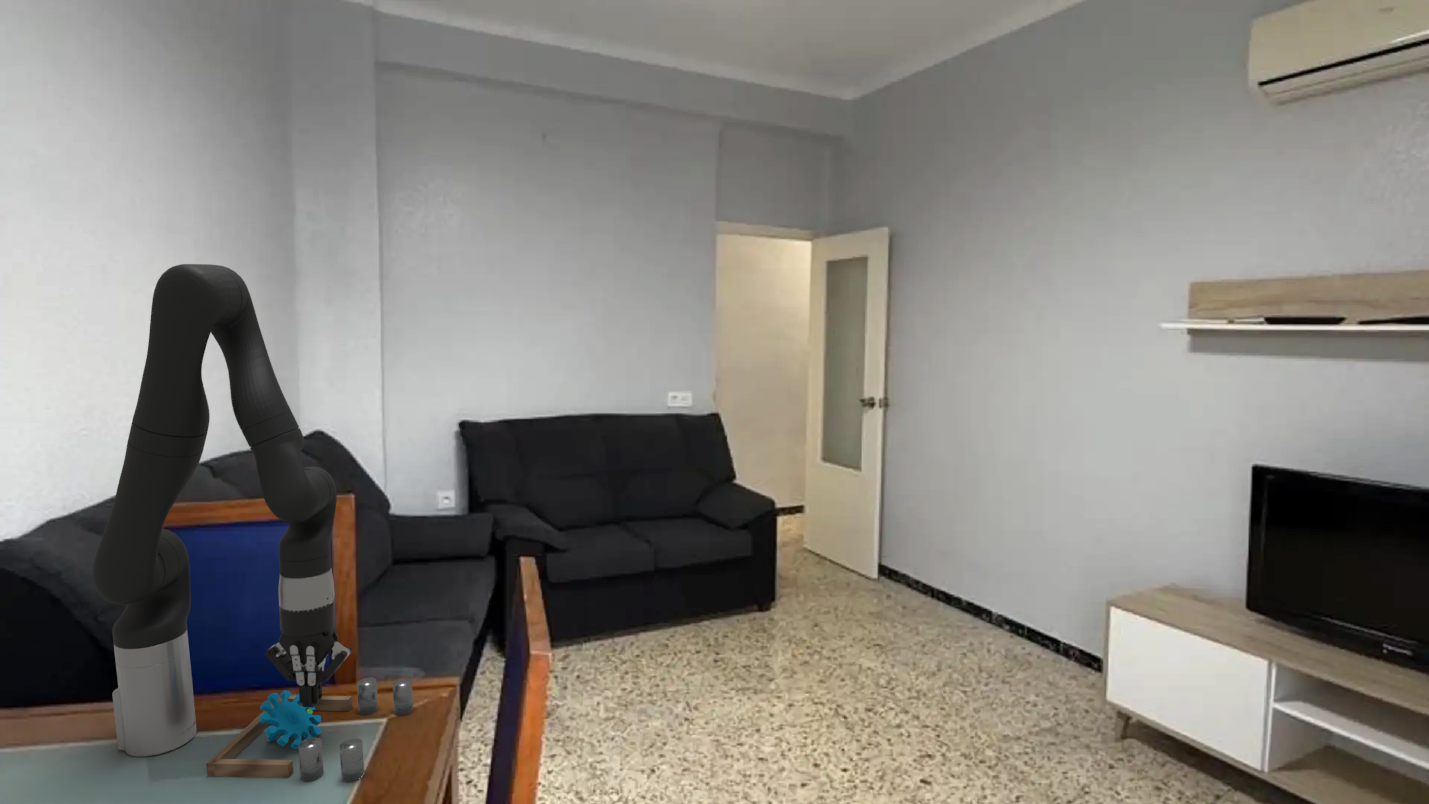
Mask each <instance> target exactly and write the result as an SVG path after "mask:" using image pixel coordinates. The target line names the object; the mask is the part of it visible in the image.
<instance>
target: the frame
mask: <svg viewBox="0 0 1429 804" xmlns="http://www.w3.org/2000/svg"><path fill="white" fill-rule="evenodd" d="M297 695H298V694H297ZM297 695H296V694H291V696H290V697H289V698H288V701H289V702H293V701H294V698H295V697H296V696H297ZM278 702H279V703H282V699H281V697H280V696H279V698H278ZM298 705H300V706H303V703H300V704H298ZM271 706H272V708H273V709H274V707H273V705H272V703H271ZM353 707H354V706H353V696H350V695H322V698H321V700H320V701H319V702H318V703H317V704H316V705H315V710H314V711H320V712H321V711H326V712H327V711H329V712H335V711H336V712H350V711H352V709H353ZM263 713H267V712H266V711H263V710H262V712H261V713H260V714H258V716H257V717H255V719H253V720H252V721H251V722H250V723H249V724H247V726H246V727H245V728H243V729H242V730H241V731H240V732H238V734H237V735H235V737H234V738H232V739H231V740H230V741H229V742H228V743H227V744H226V745H225V746H223V747H222V748H221V750H218V752H217V753H216V754H215V755H213V757H212V758H210V759H209V760H208V761H207V762H205V766H206V767H205V768H206V776H207V777H226V778H227V777H228V778H229V777H233V778H238V777H239V778H240V777H241V778H276V779H277V778H278V779H279V778H280V779H281V778H282V779H284V778H285V779H289V778H291V777H292V775H293V774H294V773H295V771H294V760H293V759H255V758H253V759H250V758H236V757H238V756H239V754H241V753H242V752H243V751H244V750H245V749H246V748H247V747H248V746H249V745H250V744H251V743H252V742H253V741H254V740H255V739H257V738H258V737H259V736H260V735H261V734H262V733H263V732H264V731H265V730H266V729H267V728H268V727H269V726H271V724H269V723H260V716H261V715H262V714H263ZM268 714H269V713H268ZM269 715H270V714H269ZM270 716H271V715H270Z"/></svg>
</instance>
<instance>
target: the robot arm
mask: <svg viewBox="0 0 1429 804" xmlns="http://www.w3.org/2000/svg"><path fill="white" fill-rule="evenodd" d="M152 295H153V296H152V303H151V310H150V311H151V312H150V320H149V321H150V324H149V333H148V334H149V335H148V336H149V337H148V343H147V344H148V345H147V351H146V352H147V353H146V359H145V363H144V368H143V371H142V377H141V382H140V387H139V393H138V397H137V403H136V407H135V409H134V413H133V417H132V420H131V421H132V422H131V426H130V430H129V434H128V439H127V443H126V448H125V455H124V461H123V465H122V468H121V473H120V475H119V480H118V484H117V489H116V492H115V498H114V501H113V506H112V508H111V513H110V515H109V517H108V521H107V523H106V526H105V529H104V532H103V534H102V536H101V540H100V542H99V544H98V548H97V551H96V553H95V557H94V559H93V564H92V573H91V574H92V582H93V585H94V588H95V589H96V591H97V592H98V594H99V596H101V597H102V599H104V600H105V601H106V602H108V603H111V604H114V605H120V606H121V605H122V606H123V605H126V607H125V609H124V610H123V612H122V613H121V614H120V616H119V617H118V619H116V621H115V622H114V624H113V626H112V641H113V649H114V650H113V651H114V659H115V669H116V677H117V686H118V687H117V688H115V689H114V690H113V692H112V696H111V697H112V704H113V714H114V721H115V729H116V730H115V731H116V740H117V741H116V742H117V749H118V751H124V752H126V754H127V755H129V756H133V757H151V756H156V755H160V754H164V753H168V752H170V751H173V750H176V749H177V748H179V747H181V746H184V745H185V744H186V743H189V741H191V740H192V739H193V738H194V737H195V736H196V734H197V731H198V730H197V721H196V712H195V711H196V710H195V697H194V688H193V687H194V685H193V676H192V665H191V657H190V655H191V654H190V646H189V634H188V625H187V624H188V623H187V622H188V617H189V614H190V611H191V606H192V595H191V594H192V588H191V582H192V581H191V565H190V564H191V563H190V556H189V552H188V549H187V547H186V544H184V542H183V540H182V539H181V538H180V537H179V536H178V535H177V534H176V533H174V532H173V531H171V530H169V529H165V528H164V526H165V522H166V520H167V518H168V515H169V513H170V512H171V509H172V508H173V506H174V505H175V503H176V501H177V500H178V498H179V497H180V495H181V494H182V492H183V491H184V489H185V487H187V485H188V483H189V482H190V481H191V478H192V477H193V475H194V474H195V472H196V470H197V468H198V465H199V464H200V461H201V458H202V455H203V453H204V447H205V444H206V440H207V435H208V431H209V426H210V408H209V402H208V398H207V395H206V391H205V387H204V382H203V377H202V376H203V375H202V374H203V373H202V369H203V361H204V356H205V351H206V347H207V344H208V340H209V338H210V335H212V337H214V339H215V341H216V343H217V345H218V346H219V348H220V350H221V352H222V355H223V357H224V361H225V363H226V368H227V372H228V379H229V380H228V381H229V389H230V390H229V391H230V400H231V406H232V411H233V414H234V417H235V420H236V422H237V425H238V426H239V428H240V431H241V433H242V435H243V436H244V438H245V440H246V443H247V444H248V445H247V446H248V447H249V448H250V450H251V453H252V454H253V456H254V459H255V466H256V471H257V477H258V481H259V485H260V489H261V493H262V496H263V497H262V498H263V500H264V502H265V504H266V506H267V508H268V509H269V510H270V511H271V514H273V515H274V516H275V517H276V518H277V519H279V520H281V521H282V522H285V523H288V528H287V530H286V532H285V533H284V534H283V536H282V537H281V539H280V540H279V544H278V564H279V565H278V566H279V567H278V569H279V580H278V581H279V582H278V608H279V609H278V610H279V629H280V632H281V634H280V636H279V638H278V642H275V643H274V644H272V646H270V647H269V648H268V649H266V651H265V652H264V655H265V656H266V658H267V659H268V661H270V662H271V664H272V665H273V666H274V667H275V668H276V670H277V671H278V672H279V673H280V674H281V676H282V677H283V678H284V679H285V680H286V681H287V682H291V681H293V682H295V683H296V684H297V685H298V694H299V700H300V702H301V703H303V707H314V706H315V705H316V704H317V703H318V702H319V701H320V700H321V698H322V696H323V685H322V684H324V683H326V682H327V681H328V680H329V679H330V678H331V677H332V676H333V675H334V674H335V673H336V672H337V671H338V670H339V668H341V666H342V664H343V663H344V662H345V661H346V660H347V658H348V657H349V656H350V655H351V654H352V653H353V648H352V647H351V646H349V645H347V646H346V647H345V646H344V645H343V644H341V643H340V642H339V636H338V634H337V633H336V631H335V626H336V625H335V624H336V611H335V610H336V609H335V608H336V607H335V605H336V603H335V594H336V592H335V591H336V590H335V583H334V580H335V579H334V576H333V570H332V549H331V537H332V536H331V535H332V532H333V527H334V522H335V515H336V508H337V496H338V495H337V487H336V483H335V481H334V479H333V477H332V476H331V474H330V473H329V472H328V471H326V470H325V469H324V468H321V467H319V466H305V467H304V465H303V462H302V458H301V452H302V450H303V448H304V447H305V444H306V442H305V438H304V435H303V432H302V430H301V428H300V425H299V424H298V421H297V419H296V418H295V416H294V414H293V412H292V409H291V407H290V405H289V404H288V400H287V399H286V397H285V395H284V393H283V391H282V388H281V386H280V383H279V381H278V379H277V376H276V373H275V370H274V368H273V365H272V362H271V359H270V356H269V353H268V349H267V347H266V344H265V341H264V338H263V334H262V331H261V328H260V324H259V321H258V317H257V313H256V309H255V306H254V303H253V299H252V297H251V294H250V291H249V289H248V286H247V284H246V282H245V281H244V279H243V278H242V276H241V275H239V274H238V273H237V272H236V271H235V270H233V269H231V268H229V267H227V266H224V265H218V264H210V263H209V264H204V263H203V264H202V263H198V264H197V263H183V264H182V263H181V264H177V265H173V266H171V267H170V268H167V270H165V272H163V273H161V275H160V276H159V278H158V279H157V282H156V284H155V288H154V291H153V294H152ZM331 652H332V654H331V660H332V661H331V662H330V663H329V665H328V666H327V667H326V668H325V665H326V659H327V657H328V656H329V654H330V653H331ZM324 669H325V670H324Z"/></svg>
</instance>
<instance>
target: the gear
mask: <svg viewBox="0 0 1429 804" xmlns="http://www.w3.org/2000/svg"><path fill="white" fill-rule="evenodd" d="M291 695H292V692H291V691H289V690H285V689H284V690H283V691H282V692H281V693H280V694H279V693H278V692H273V693H270V694H269V695H268V696H267V700H265V701H264V702H263V703H262V704H261V705H260V707H259V709H260V710H261V711H262V712H263V711H266V712H267V713H263V714H262V715H261V716H260V723H269V724H270V725H269V726H268V727H267V728H266V729H265V730H264V731H265V734H266V735H267V741H269V743H274V741H275V740H276V742H277V744H278V745H279V746H281V747H284V746H285V745H286V744H287V743H288V742H289V739H290V738H294V741H293V742H292V743H291V745H290V747H291V748H292V749H294V750H298V745H299V743H300V742H302V741H304V740H306V739H309V738H317V736H318V735H320V734H321V732H322V728H320V727H318V725H319V724H320V723H321V721H322V717H321V715H319V714H316V715H313V712H314V711H316V710H315V706H314V707H303V706H300V705H298V704H300V703H301V702H300V700H299V693H298V694H297V696H296V697H295V698H294V701H293V702H289V701H288V698H289V697H290V696H291ZM279 697H281V699H282V703H279V702H278V698H279ZM271 704H272V705H273V707H274V709H273V708H272V706H271ZM268 713H269V714H270V715H271V716H270V715H269V714H268ZM280 735H281V736H280ZM302 737H303V738H304V739H303V740H302Z"/></svg>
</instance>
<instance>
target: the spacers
mask: <svg viewBox="0 0 1429 804" xmlns="http://www.w3.org/2000/svg"><path fill="white" fill-rule="evenodd" d="M377 685H378V684H377V678H376V677H364V678H361V679H360V680H357V682H356V690H357V692H356V693H357V705H358V706H357V708H358V714H360V715H362V716H363V715H367V716H368V715H371V714H373V713H374V714H375V713H376V712H377V711H378V710H379V702H378V686H377ZM392 695H393V696H392V697H393V699H392V700H393V713H394V714H395V715H396V716H405V715H408V714H410V713H412V712H413V711H414V701H413V700H414V696H413V680H412V679H411V678H407V677H404V678H398V679H396V680H395V681H393V682H392ZM301 741H302V742H300V743H299V745H298V749H297V750H298V760H299V761H298V762H299V763H298V764H299V774H300V775H299V776H300V781H302V782H305V783H307V782H308V783H309V782H310V783H311V782H314V781H317V780H319V779H320V778H322V777H323V776H324V757H323V746H322V744H323V743H322V739H321V738H320V737H313V738H309V739H306V740H304V739H303V740H301ZM363 744H364V743H363V740H362V739H360V738H357V737H356V738H350V739H349V738H348V739H346V740H344V741H342V742H341V743H340V744H339V757H340V758H339V759H340V774H341V781H342V782H344V783H355V782H358V781H359V778H361V776H362V775H363V773H364V774H365V763H364V749H363ZM361 779H362V778H361Z"/></svg>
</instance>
